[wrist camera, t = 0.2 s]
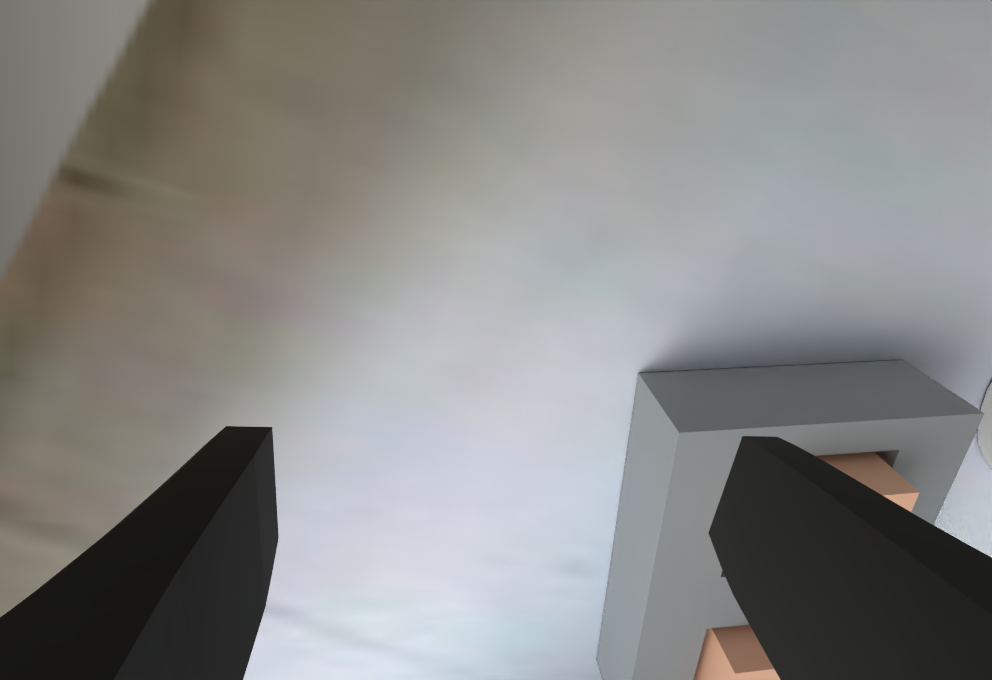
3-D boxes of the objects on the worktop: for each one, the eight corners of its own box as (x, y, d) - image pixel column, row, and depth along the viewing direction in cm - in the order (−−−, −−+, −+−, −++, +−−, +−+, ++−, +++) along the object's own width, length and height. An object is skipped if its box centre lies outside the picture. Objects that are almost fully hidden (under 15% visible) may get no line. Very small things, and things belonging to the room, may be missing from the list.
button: (771, 655, 26) (816, 731, 23) (678, 666, 25) (712, 745, 23) (795, 586, 24) (847, 660, 21) (695, 596, 24) (735, 673, 21)
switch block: (800, 637, 29) (848, 709, 25) (596, 659, 27) (620, 739, 24) (902, 360, 22) (984, 413, 19) (638, 372, 21) (679, 432, 18)
